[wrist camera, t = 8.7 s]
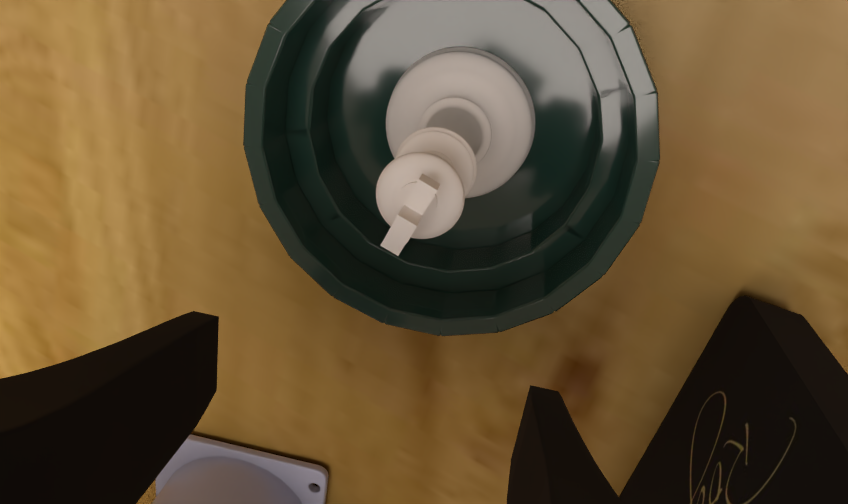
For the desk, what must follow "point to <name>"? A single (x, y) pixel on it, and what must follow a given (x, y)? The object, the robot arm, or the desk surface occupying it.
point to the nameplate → (753, 419)
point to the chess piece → (450, 140)
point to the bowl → (483, 215)
